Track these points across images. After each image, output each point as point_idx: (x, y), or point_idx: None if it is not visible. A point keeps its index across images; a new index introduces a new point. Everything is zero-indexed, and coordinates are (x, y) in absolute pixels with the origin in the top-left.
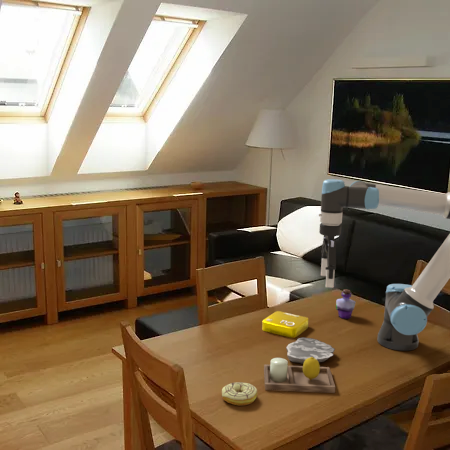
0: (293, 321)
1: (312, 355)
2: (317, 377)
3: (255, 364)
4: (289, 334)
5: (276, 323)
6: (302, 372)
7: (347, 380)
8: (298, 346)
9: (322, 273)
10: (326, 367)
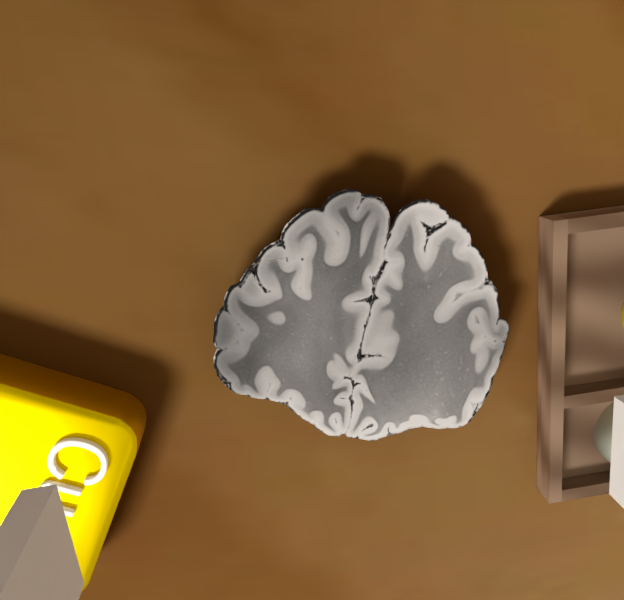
0: (17, 447)
1: (451, 310)
2: (610, 271)
3: (488, 525)
4: (142, 435)
5: (88, 531)
6: (567, 338)
7: (611, 126)
8: (348, 385)
9: (69, 597)
10: (556, 235)
